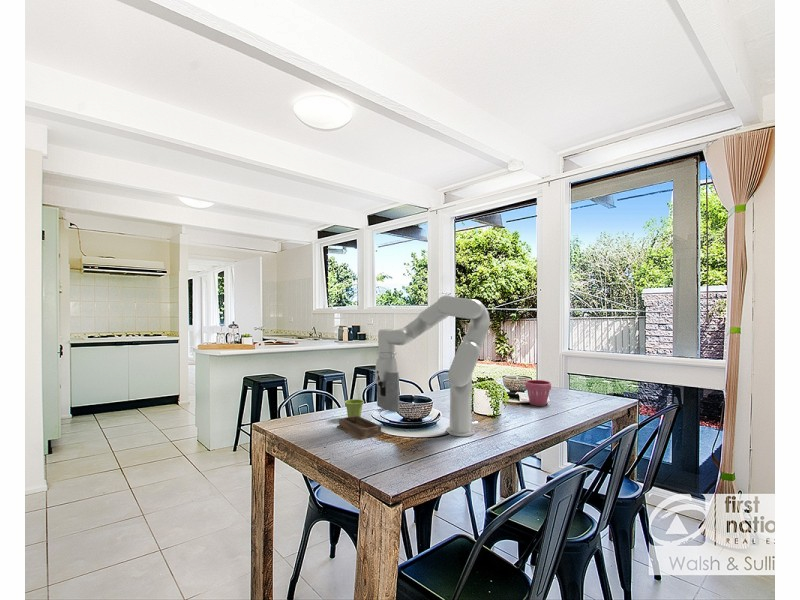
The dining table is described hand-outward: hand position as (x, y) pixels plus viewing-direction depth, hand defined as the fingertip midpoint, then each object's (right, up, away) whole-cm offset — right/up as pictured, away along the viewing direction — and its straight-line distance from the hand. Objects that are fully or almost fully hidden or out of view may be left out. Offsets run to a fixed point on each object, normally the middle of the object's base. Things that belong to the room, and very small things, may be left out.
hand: (387, 394), depth 198 cm
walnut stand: (-12, -15, -8) cm, 21 cm away
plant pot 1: (-17, -15, +11) cm, 25 cm away
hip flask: (0, -7, 0) cm, 7 cm away
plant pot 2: (+85, -16, +47) cm, 99 cm away
